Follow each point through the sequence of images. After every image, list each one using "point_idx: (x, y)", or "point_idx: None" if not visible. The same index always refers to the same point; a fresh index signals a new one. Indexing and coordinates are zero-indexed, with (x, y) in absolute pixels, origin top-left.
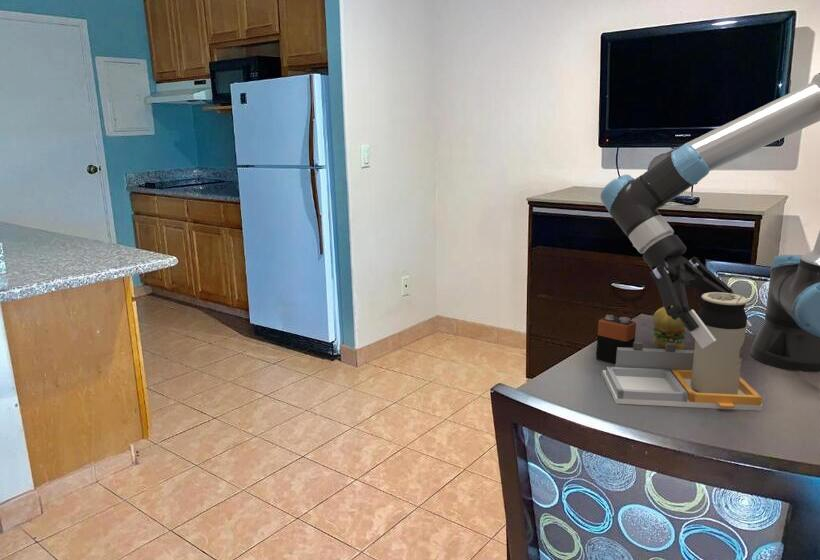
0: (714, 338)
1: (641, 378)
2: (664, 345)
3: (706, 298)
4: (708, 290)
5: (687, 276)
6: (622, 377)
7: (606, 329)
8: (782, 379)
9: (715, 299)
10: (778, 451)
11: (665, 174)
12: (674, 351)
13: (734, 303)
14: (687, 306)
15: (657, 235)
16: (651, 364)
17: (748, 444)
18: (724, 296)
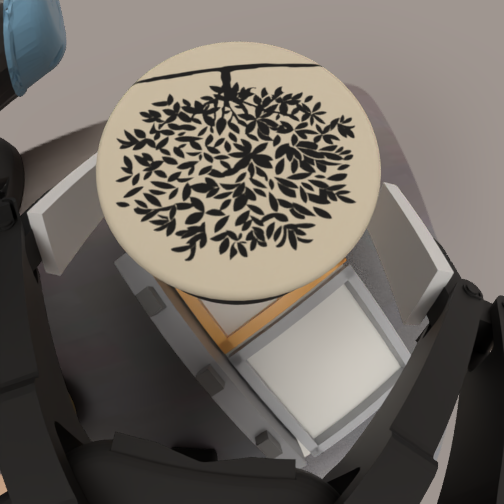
0: (387, 186)
1: (286, 391)
2: (76, 414)
3: (361, 229)
4: (40, 321)
5: (231, 502)
6: (308, 420)
7: None
8: (67, 175)
9: (351, 170)
10: (381, 115)
11: None
12: (210, 365)
13: (334, 76)
14: (461, 293)
15: None
16: (252, 395)
17: (394, 148)
18: (218, 146)
